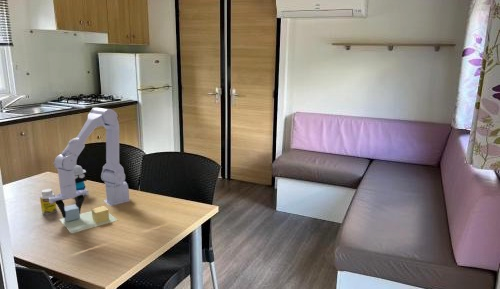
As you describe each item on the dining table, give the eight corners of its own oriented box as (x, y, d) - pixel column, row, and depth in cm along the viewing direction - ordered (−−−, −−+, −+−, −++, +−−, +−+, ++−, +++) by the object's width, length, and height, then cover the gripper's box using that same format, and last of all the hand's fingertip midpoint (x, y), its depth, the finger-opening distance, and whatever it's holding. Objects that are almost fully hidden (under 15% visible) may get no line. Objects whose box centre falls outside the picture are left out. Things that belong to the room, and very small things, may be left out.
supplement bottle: (43, 216, 158) (39, 193, 155) (41, 211, 162) (38, 189, 160) (57, 213, 161) (54, 191, 158) (56, 209, 165) (53, 187, 163)
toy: (69, 199, 175) (65, 169, 172) (68, 193, 183) (65, 163, 179) (89, 196, 179) (86, 166, 175) (87, 190, 187) (84, 161, 183)
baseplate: (103, 209, 165) (103, 207, 165) (117, 221, 154) (117, 220, 154) (59, 220, 154) (59, 219, 154) (71, 235, 142) (71, 233, 142)
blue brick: (76, 214, 157) (75, 204, 156) (80, 218, 154) (78, 207, 153) (63, 217, 154) (62, 207, 153) (67, 221, 151) (65, 211, 150)
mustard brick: (104, 215, 157) (103, 205, 156) (109, 219, 154) (108, 209, 153) (92, 219, 154) (91, 209, 153) (96, 223, 151) (95, 213, 149)
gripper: (83, 177, 158) (86, 207, 161) (45, 185, 149) (49, 216, 152) (88, 181, 153) (92, 212, 156) (49, 190, 143) (54, 222, 147)
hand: (71, 215), depth 154 cm, fingers closed on blue brick, 5 cm apart
